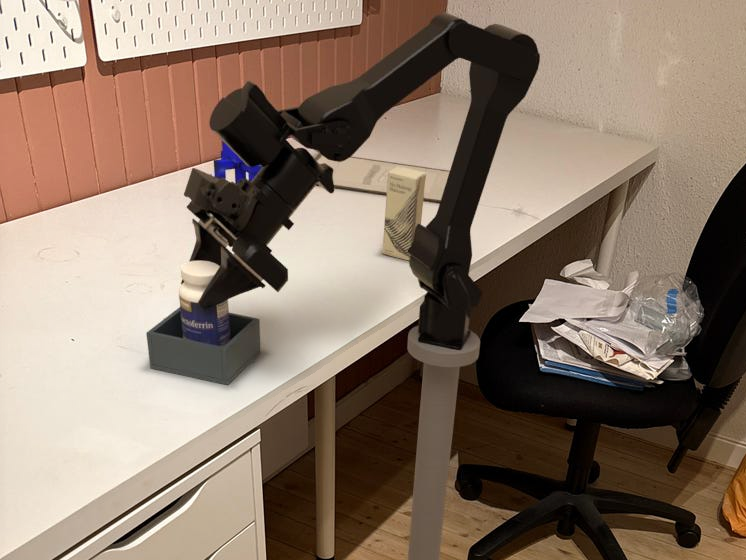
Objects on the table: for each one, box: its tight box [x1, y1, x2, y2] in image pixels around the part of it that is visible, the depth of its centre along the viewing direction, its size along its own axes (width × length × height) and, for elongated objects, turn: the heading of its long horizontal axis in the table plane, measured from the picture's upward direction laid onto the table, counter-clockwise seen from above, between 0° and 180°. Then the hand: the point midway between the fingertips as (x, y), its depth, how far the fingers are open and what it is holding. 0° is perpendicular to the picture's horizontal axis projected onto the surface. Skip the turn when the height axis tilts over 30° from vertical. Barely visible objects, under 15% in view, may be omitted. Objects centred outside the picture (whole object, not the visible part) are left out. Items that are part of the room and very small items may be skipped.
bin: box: [146, 306, 261, 386], centre depth 120 cm, size 10×10×5 cm
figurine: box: [213, 139, 262, 184], centre depth 162 cm, size 8×8×12 cm
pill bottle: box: [178, 260, 230, 347], centre depth 117 cm, size 6×6×10 cm
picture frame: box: [314, 153, 450, 203], centre depth 189 cm, size 22×1×30 cm
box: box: [382, 166, 426, 261], centre depth 154 cm, size 5×4×13 cm
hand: (192, 296), depth 115 cm, fingers closed on pill bottle, 6 cm apart
